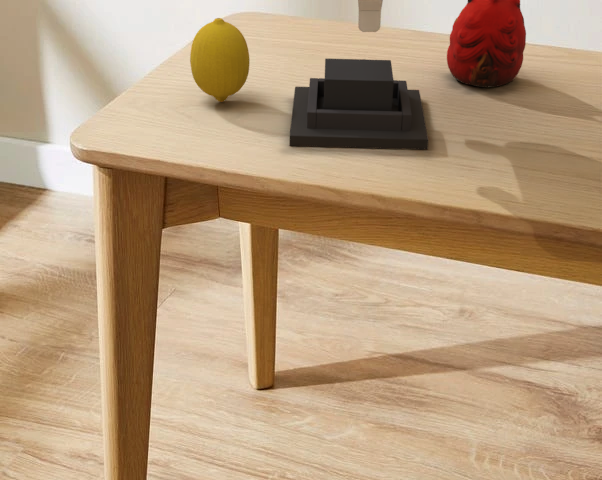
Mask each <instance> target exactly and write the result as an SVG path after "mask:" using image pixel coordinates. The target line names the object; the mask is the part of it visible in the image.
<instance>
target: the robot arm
mask: <svg viewBox="0 0 602 480" xmlns="http://www.w3.org/2000/svg"><path fill="white" fill-rule="evenodd" d="M383 2H384V0H357V3H358V4H357V5H358V6H357V7H358V21H357V22H358V30H359V31H360V32H362V33H376V32H379V30H380V29H381V22H382V21H381V18H382V7H383Z"/></svg>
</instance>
